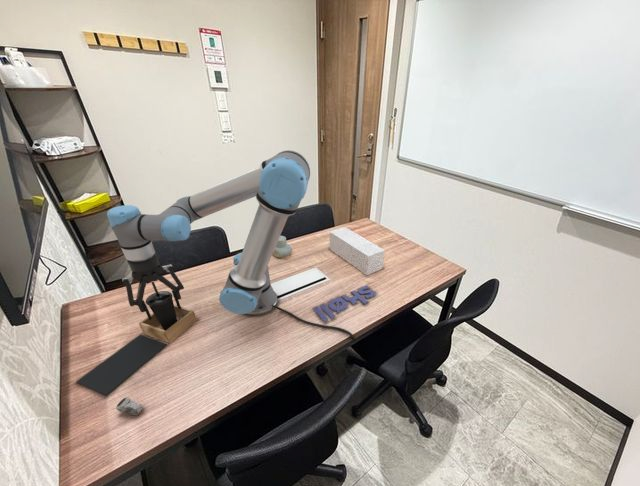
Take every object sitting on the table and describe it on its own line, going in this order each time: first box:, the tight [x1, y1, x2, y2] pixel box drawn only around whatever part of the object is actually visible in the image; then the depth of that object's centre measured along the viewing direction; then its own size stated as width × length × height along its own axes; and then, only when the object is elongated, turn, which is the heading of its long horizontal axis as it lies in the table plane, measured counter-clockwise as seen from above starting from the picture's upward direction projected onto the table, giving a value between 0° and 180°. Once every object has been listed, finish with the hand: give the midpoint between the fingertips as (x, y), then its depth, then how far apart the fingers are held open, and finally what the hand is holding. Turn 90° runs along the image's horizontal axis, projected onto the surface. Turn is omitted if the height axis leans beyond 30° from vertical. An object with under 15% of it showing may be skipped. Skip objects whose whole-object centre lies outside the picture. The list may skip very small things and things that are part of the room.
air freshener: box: [272, 235, 293, 259], centre depth 147 cm, size 11×8×10 cm
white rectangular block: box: [329, 226, 386, 276], centre depth 148 cm, size 32×11×11 cm, turn 39°
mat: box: [76, 334, 168, 397], centre depth 89 cm, size 12×20×1 cm, turn 161°
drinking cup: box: [145, 281, 179, 331], centre depth 98 cm, size 8×8×20 cm
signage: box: [312, 285, 376, 323], centre depth 119 cm, size 28×1×10 cm
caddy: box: [138, 304, 198, 344], centre depth 102 cm, size 12×12×5 cm
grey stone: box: [115, 396, 144, 416], centre depth 75 cm, size 4×6×5 cm, turn 85°
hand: (164, 311), depth 99 cm, fingers open, 8 cm apart
